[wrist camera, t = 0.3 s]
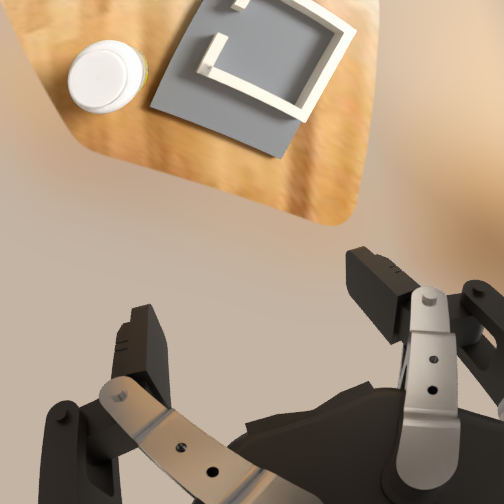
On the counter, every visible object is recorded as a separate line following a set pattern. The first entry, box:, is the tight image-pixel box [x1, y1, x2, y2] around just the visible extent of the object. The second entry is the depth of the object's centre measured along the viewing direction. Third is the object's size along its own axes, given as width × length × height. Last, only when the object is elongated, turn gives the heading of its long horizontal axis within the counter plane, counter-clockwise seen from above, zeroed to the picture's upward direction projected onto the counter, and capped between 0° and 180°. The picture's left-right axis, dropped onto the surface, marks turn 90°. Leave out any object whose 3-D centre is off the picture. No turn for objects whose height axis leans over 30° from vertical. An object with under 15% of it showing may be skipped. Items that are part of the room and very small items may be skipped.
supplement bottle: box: [68, 40, 149, 114], centre depth 20 cm, size 6×6×10 cm
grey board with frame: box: [150, 0, 357, 159], centre depth 25 cm, size 16×14×3 cm
